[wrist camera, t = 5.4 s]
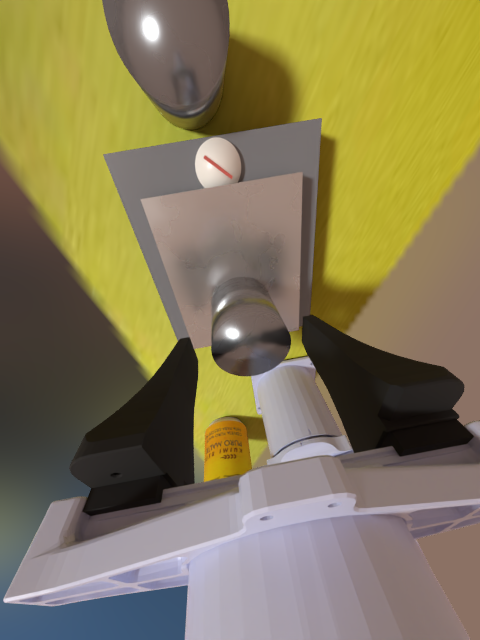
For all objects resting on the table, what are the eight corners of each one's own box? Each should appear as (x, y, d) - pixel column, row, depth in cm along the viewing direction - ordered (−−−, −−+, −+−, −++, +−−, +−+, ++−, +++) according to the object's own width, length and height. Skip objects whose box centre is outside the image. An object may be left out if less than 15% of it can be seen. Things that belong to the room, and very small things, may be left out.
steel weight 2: (265, 328, 17) (283, 374, 13) (211, 328, 17) (212, 377, 12) (273, 277, 15) (298, 314, 11) (211, 276, 14) (210, 314, 10)
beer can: (238, 410, 30) (258, 576, 17) (250, 430, 33) (273, 581, 20) (198, 421, 30) (189, 591, 18) (214, 441, 33) (215, 594, 21)
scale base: (299, 310, 21) (311, 327, 19) (183, 331, 21) (179, 351, 19) (304, 127, 13) (325, 115, 11) (120, 158, 13) (98, 153, 11)
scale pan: (295, 324, 18) (298, 329, 18) (194, 342, 18) (193, 348, 17) (297, 172, 12) (302, 171, 11) (144, 198, 12) (140, 199, 11)
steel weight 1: (229, 123, 13) (237, 95, 9) (159, 135, 13) (134, 112, 9) (214, 6, 10) (216, -109, 6) (128, 20, 10) (72, -88, 6)
